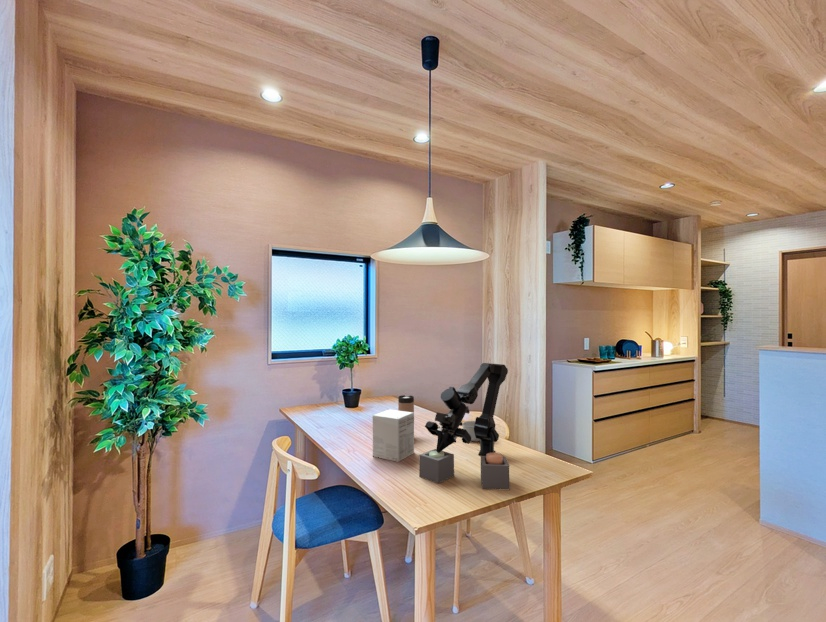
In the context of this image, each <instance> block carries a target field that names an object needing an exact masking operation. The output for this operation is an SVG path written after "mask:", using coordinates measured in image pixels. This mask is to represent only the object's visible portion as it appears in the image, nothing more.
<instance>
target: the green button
mask: <svg viewBox="0 0 826 622" xmlns="http://www.w3.org/2000/svg"><path fill="white" fill-rule="evenodd" d="M430 451H431V450H430ZM442 451H443V450H442ZM442 451H441V452H439V453H438V452H437V451H431V452H429V456H430V457H434V458H437V459H439V458H441V457H444V452H445V451H444V452H442Z"/></svg>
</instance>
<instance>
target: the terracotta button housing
mask: <svg viewBox="0 0 826 622" xmlns="http://www.w3.org/2000/svg"><path fill="white" fill-rule="evenodd" d="M480 482H481V487H482V488H483V489H482V490H499V489H509V490H510V465H509V461H508V459H507V456H503V465H502V464H486V456H483V455H480Z"/></svg>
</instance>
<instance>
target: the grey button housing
mask: <svg viewBox="0 0 826 622" xmlns="http://www.w3.org/2000/svg"><path fill="white" fill-rule="evenodd" d="M436 449H437V448H434V449H432V450H429V451H425V452H423V453H421V454H419V457H418V458H419V460H418V461H419V467H418V469H419V470H418V472H419V478H422V479H425V480H427V481H431V482H433V483H435V484H441V483H442V482H445V481H447V480H449V479H451V478H453V477H455V453H450V452H448V451H444V450H442V452H444V457H441V458H439V459H437V458H434V457H430V456H429V452H431V451H436Z"/></svg>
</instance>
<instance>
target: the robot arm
mask: <svg viewBox="0 0 826 622" xmlns="http://www.w3.org/2000/svg"><path fill="white" fill-rule="evenodd" d="M508 373H509V370H508V368H507V366H506V365H505V364H501V363H489V362H483V363H482V362H481V364H480V366H479V368H478V370H477V371H476V372H475V373H474V374H473V376H472V377H471V378H470V380H469V381H468V382H467V383H465V384H463V385H461V386H460V387H459V388H458V389H457V390H456V388H455V387H454V386H449V387H448V388H446V389H445V390H443V391H442V392H441V393H440V400H441V401H442V402H443V403H444V405H445V406H446V407H447V408H448V409H449V411H448V413H447V412H446V413H443V412H436V414H435V416H434V417H435V418H434V421H430V420H429V421H426V423H425V425H424V427H425V428H426V430H427V431H428V433H429V434H430V435H433V436H437V442H436V448H435V449H436V451H437V452H438V453H439V452H441V451H444V450H445V449H446V448H448V447H449V446H451V445H453V443H457V438H460V439H461V441H462V443H463V444H468V445H469V444H470V443H471V442H472V441H471V436H470V434H469V433H468V432H467V430H466V429H463V428H461V427H463V426H462V423H463V419H464V417H465V415H466V414H470V409H469V406H467V405H474V403H475V402H476V400H477V398H478V396H479V394H478V392H479V389H480V388H481V387H482V386H483V384H484V383H485V381H486V380H488V386H487V389H486V395H485V399H484V402H483V408H482V413H481V414H480V416H476V417H475V420H476V421H475V420H474V421H475V424H474V432H475V437H476V438H478V439H480V441H479V442H480V445H479V446H480V448H479V452H478V456H486V454H488V453H496V450H495V442H498V440H499V437H500V434H499V433H498V431H497V429H496V422H495V420H494V415H495V410H496V406H497V402H498V397H499V391H500V387H501V385H502V384H503V383H504V382H505V381H506V378H507V375H508ZM466 404H467V405H466ZM437 422H438V423H439V424H438V423H437ZM439 425H440V426H439Z"/></svg>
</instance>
